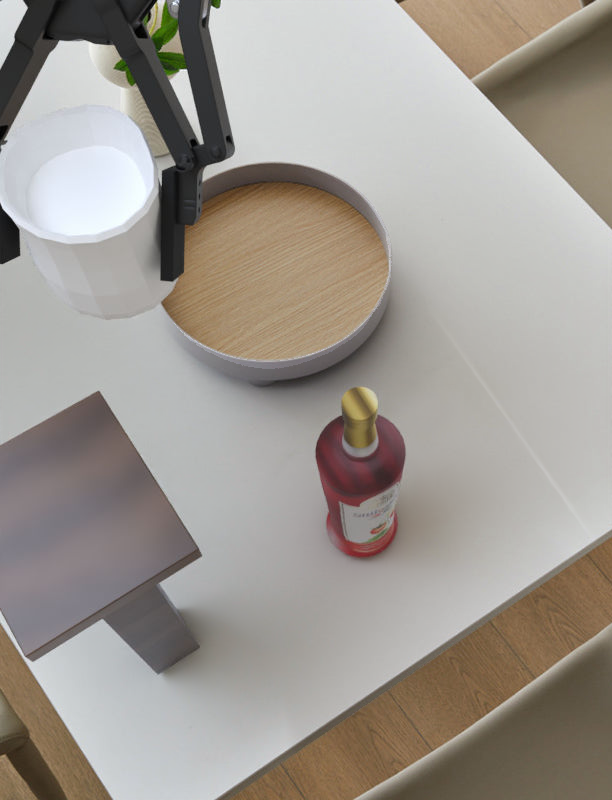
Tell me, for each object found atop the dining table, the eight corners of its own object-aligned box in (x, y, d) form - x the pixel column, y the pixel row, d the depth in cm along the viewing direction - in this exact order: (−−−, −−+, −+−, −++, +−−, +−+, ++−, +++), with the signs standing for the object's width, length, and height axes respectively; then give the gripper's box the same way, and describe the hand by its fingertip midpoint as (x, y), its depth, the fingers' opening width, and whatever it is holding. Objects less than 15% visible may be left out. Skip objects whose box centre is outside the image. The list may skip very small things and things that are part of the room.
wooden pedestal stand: (78, 618, 95) (-69, 483, 63) (186, 551, 98) (98, 389, 66) (146, 738, 90) (25, 657, 59) (257, 664, 93) (199, 548, 62)
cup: (107, 178, 70) (70, 76, 61) (221, 249, 68) (199, 154, 59) (9, 273, 66) (-45, 180, 58) (126, 351, 64) (88, 267, 55)
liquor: (375, 479, 101) (377, 342, 76) (413, 540, 99) (428, 419, 73) (311, 514, 100) (291, 386, 74) (348, 577, 97) (340, 467, 72)
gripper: (299, -110, 58) (279, 273, 66) (-84, -146, 59) (-62, 238, 66) (278, -131, 51) (258, 300, 59) (-158, -173, 52) (-124, 261, 59)
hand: (88, 267), depth 62 cm, fingers closed on cup, 10 cm apart
